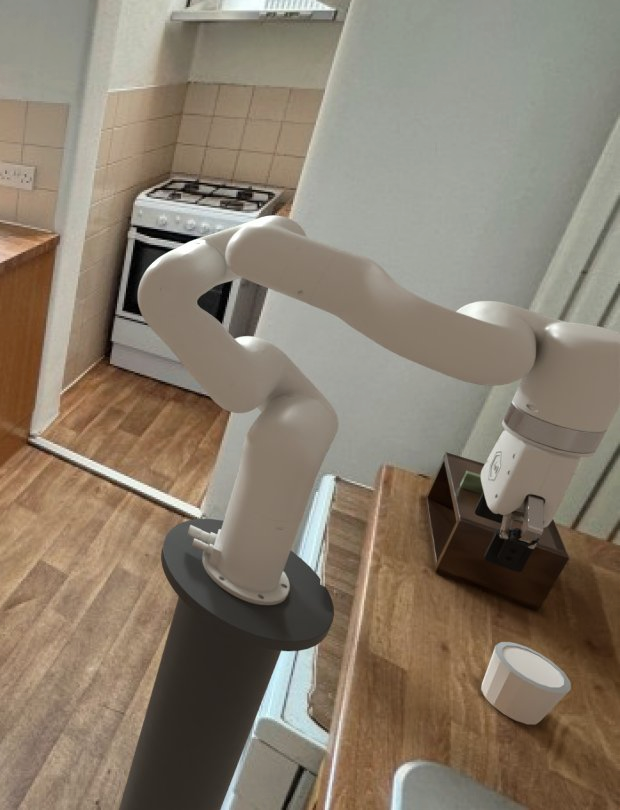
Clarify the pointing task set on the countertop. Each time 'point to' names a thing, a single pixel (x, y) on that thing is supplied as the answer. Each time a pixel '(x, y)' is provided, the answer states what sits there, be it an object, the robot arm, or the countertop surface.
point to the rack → (484, 539)
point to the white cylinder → (523, 683)
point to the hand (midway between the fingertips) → (495, 540)
